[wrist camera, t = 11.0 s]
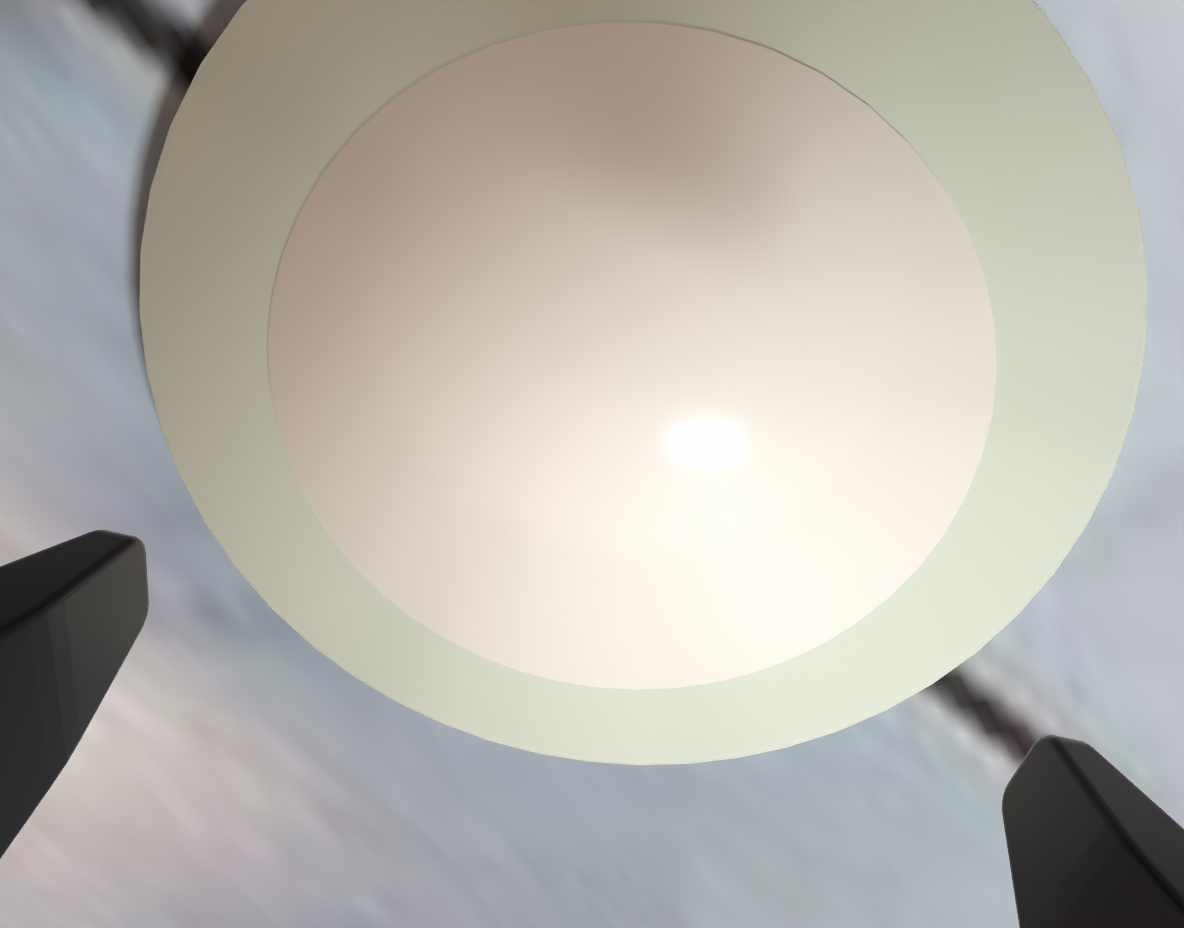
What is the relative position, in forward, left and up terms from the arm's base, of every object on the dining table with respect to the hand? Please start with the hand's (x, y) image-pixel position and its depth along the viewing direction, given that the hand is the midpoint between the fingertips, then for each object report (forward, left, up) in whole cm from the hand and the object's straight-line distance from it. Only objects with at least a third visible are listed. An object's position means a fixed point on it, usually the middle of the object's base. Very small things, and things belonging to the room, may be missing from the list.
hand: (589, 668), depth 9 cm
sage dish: (0, 0, -6) cm, 6 cm away
